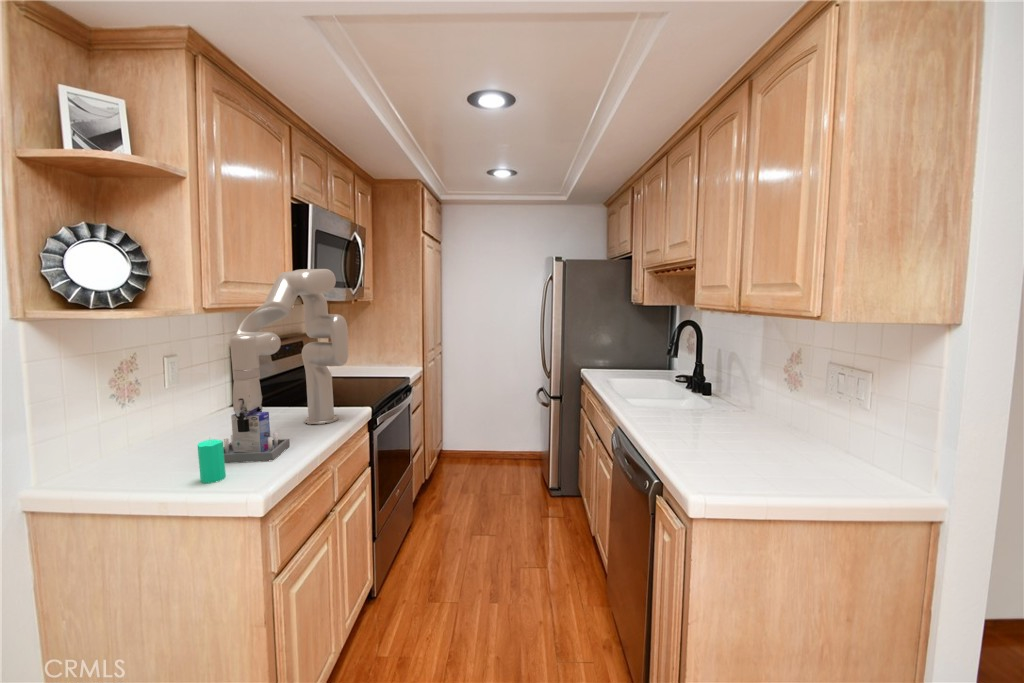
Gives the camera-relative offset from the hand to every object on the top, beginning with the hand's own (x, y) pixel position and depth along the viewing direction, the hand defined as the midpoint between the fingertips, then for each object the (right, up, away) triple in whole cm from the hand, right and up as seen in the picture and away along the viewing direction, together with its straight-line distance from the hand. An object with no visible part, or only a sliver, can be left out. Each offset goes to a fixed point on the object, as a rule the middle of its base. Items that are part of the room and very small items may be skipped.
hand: (250, 427), depth 156 cm
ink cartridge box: (0, -8, +1) cm, 8 cm away
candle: (0, -11, -19) cm, 22 cm away
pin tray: (0, -9, +1) cm, 9 cm away
